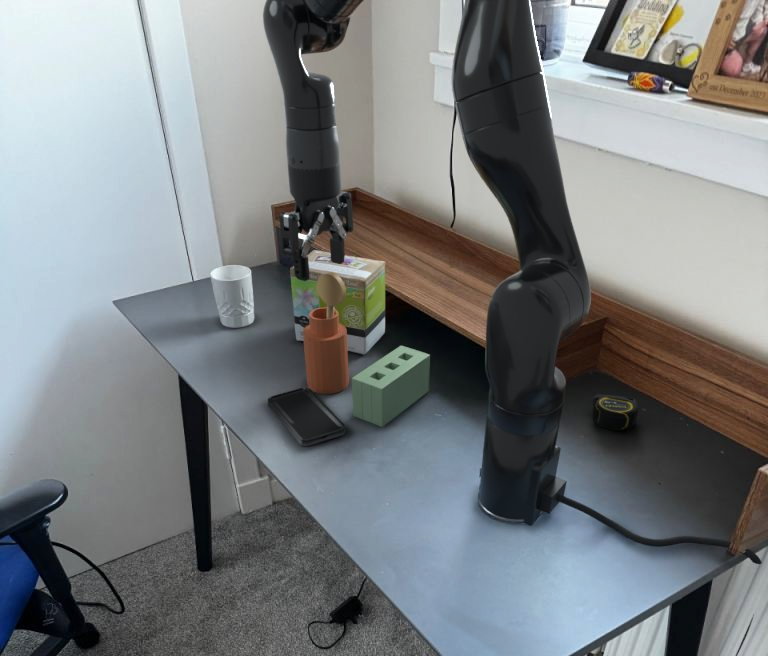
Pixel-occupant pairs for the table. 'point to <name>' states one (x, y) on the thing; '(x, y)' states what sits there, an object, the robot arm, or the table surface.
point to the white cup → (233, 295)
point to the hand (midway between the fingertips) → (320, 270)
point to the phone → (306, 416)
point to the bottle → (326, 352)
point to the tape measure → (615, 411)
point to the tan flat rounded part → (331, 291)
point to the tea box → (360, 304)
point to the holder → (390, 385)
